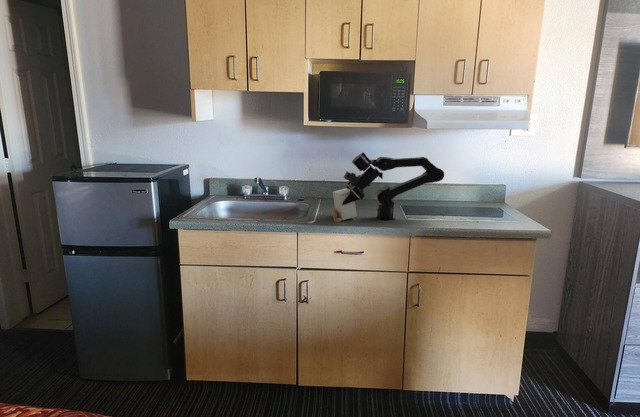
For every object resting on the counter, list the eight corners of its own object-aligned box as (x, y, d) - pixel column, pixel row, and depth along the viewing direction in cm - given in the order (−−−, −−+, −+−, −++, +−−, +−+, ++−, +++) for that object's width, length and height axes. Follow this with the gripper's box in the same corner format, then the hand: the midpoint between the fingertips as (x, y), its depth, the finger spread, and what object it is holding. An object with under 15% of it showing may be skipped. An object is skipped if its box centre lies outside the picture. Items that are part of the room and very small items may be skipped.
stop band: (338, 215, 201) (338, 207, 200) (341, 221, 191) (341, 213, 190) (332, 215, 201) (332, 207, 200) (334, 221, 191) (335, 213, 190)
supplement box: (342, 220, 191) (338, 194, 188) (336, 217, 198) (331, 191, 195) (357, 216, 194) (353, 190, 190) (350, 213, 201) (346, 187, 197)
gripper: (351, 163, 200) (327, 186, 201) (358, 168, 182) (332, 193, 183) (367, 180, 202) (343, 202, 204) (375, 186, 184) (349, 211, 185)
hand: (341, 201), depth 194 cm, fingers closed on supplement box, 8 cm apart
